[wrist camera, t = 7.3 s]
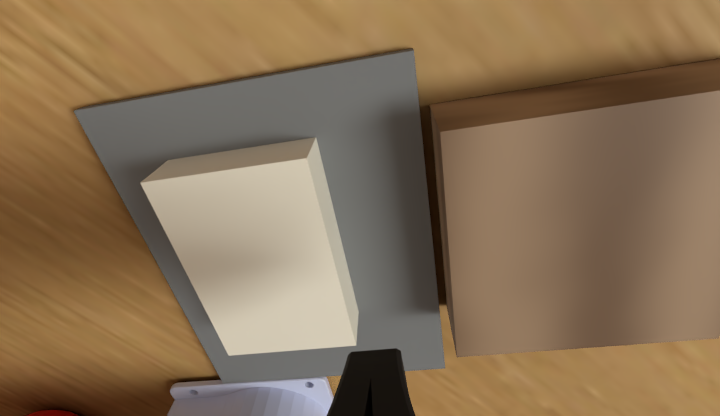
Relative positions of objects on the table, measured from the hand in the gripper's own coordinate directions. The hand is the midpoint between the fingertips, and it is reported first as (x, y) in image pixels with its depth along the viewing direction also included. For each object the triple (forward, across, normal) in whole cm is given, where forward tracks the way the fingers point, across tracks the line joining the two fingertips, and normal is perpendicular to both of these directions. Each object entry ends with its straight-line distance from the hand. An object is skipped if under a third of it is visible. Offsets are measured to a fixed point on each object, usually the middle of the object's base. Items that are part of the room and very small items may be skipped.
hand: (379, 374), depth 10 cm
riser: (+7, -8, 0) cm, 10 cm away
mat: (+7, +4, +1) cm, 8 cm away
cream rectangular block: (+5, +5, 0) cm, 7 cm away
